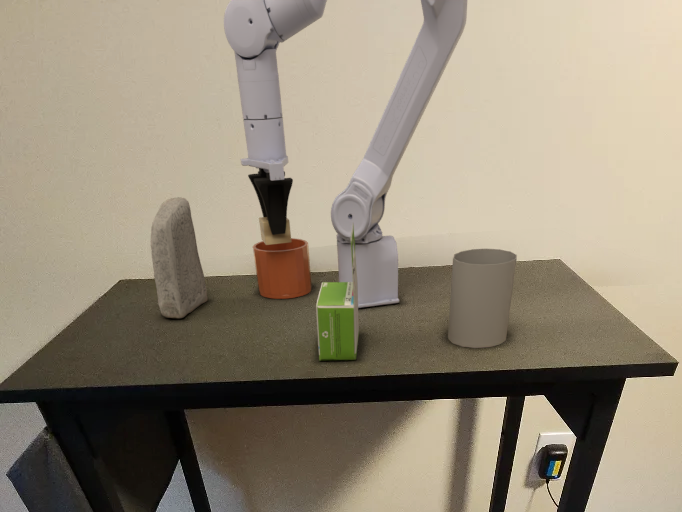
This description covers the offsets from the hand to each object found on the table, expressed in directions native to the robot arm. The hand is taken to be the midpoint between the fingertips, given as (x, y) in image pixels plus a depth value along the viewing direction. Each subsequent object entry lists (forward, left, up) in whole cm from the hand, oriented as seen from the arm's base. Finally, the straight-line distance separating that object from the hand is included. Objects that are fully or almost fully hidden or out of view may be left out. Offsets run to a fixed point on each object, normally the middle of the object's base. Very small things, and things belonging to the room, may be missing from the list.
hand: (275, 230), depth 95 cm
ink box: (-4, +27, -10) cm, 29 cm away
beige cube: (0, 0, -1) cm, 1 cm away
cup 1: (-1, -4, -10) cm, 11 cm away
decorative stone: (+17, 0, -10) cm, 20 cm away
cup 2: (-23, +30, -10) cm, 39 cm away
